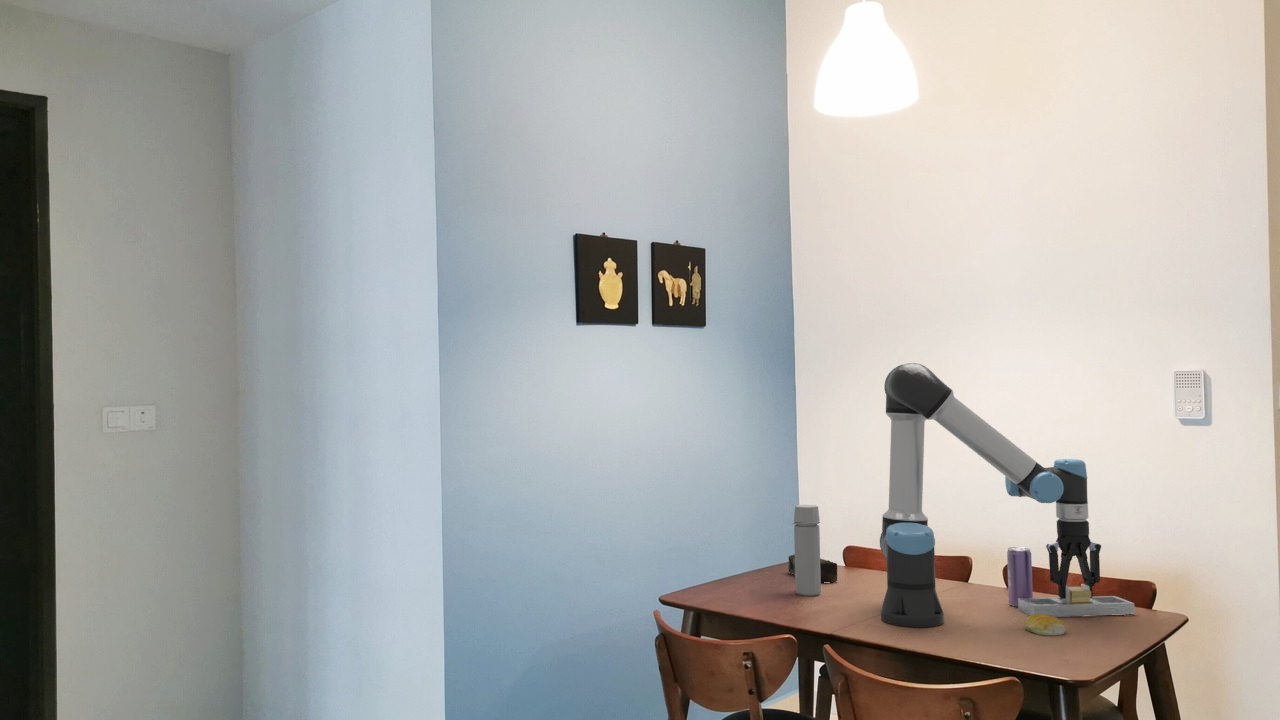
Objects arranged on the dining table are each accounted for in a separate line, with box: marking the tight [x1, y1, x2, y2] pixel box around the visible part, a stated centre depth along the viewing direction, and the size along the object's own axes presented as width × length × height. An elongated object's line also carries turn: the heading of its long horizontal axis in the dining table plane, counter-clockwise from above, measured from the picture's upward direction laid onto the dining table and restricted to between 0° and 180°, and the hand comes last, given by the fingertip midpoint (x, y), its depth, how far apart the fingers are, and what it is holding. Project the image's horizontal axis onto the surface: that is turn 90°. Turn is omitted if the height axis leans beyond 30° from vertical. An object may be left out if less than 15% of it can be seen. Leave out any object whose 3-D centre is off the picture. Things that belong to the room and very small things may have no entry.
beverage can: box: [1006, 546, 1034, 608], centre depth 242 cm, size 6×6×15 cm
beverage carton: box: [788, 553, 838, 583], centre depth 283 cm, size 8×19×7 cm, turn 16°
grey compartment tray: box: [1017, 595, 1136, 618], centre depth 233 cm, size 26×8×3 cm, turn 92°
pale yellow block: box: [1069, 585, 1091, 604], centre depth 233 cm, size 5×6×6 cm
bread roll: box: [1024, 614, 1067, 637], centre depth 215 cm, size 8×9×4 cm
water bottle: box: [791, 504, 822, 597], centre depth 261 cm, size 9×8×25 cm
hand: (1076, 610), depth 233 cm, fingers closed on pale yellow block, 4 cm apart
